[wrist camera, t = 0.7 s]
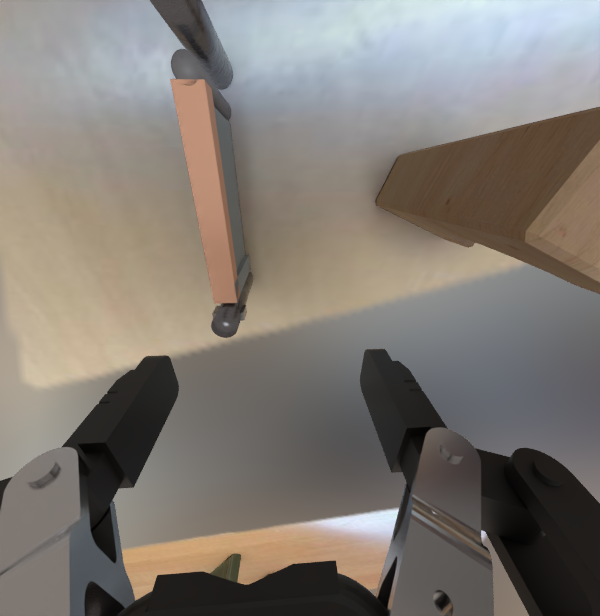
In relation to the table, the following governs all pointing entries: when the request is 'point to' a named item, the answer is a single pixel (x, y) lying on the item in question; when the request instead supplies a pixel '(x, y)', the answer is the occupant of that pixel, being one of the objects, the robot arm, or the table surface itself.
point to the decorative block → (512, 194)
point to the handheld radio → (229, 568)
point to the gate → (211, 174)
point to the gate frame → (211, 56)
